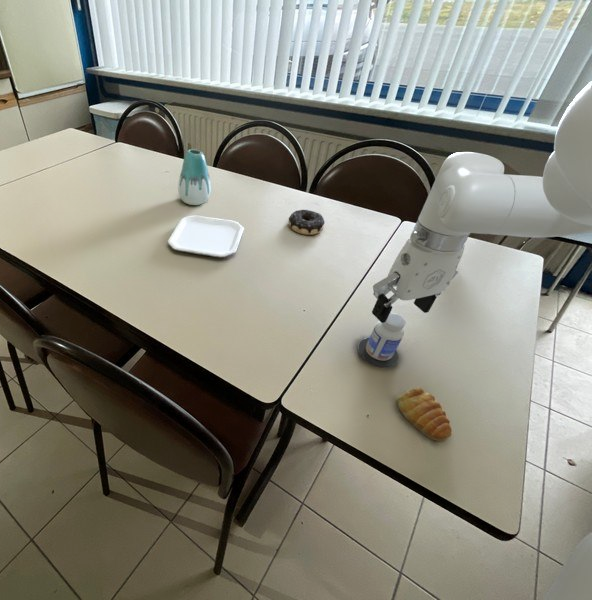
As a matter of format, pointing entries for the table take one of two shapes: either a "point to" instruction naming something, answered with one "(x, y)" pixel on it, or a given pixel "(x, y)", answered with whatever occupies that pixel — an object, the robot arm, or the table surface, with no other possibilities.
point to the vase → (194, 179)
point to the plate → (206, 236)
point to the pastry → (425, 413)
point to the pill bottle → (386, 337)
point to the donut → (306, 222)
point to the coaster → (373, 361)
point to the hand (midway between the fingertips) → (399, 312)
